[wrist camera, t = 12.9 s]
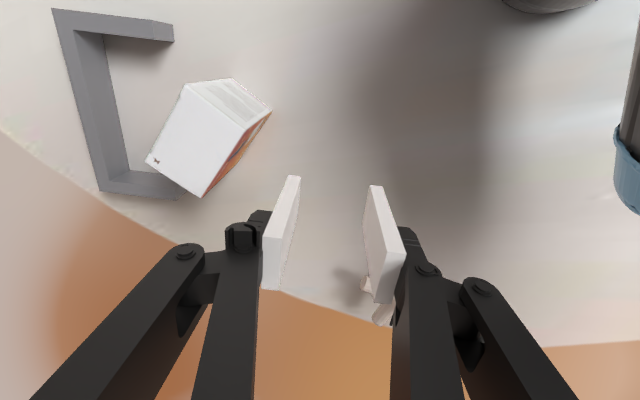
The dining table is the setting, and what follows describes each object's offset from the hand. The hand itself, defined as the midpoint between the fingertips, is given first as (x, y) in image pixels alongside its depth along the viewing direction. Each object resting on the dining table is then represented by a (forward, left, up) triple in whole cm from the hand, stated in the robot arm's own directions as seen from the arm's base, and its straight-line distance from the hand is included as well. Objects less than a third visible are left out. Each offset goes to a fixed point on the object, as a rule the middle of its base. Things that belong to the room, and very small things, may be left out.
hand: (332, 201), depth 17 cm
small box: (0, -12, -17) cm, 20 cm away
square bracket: (0, -22, -17) cm, 27 cm away
